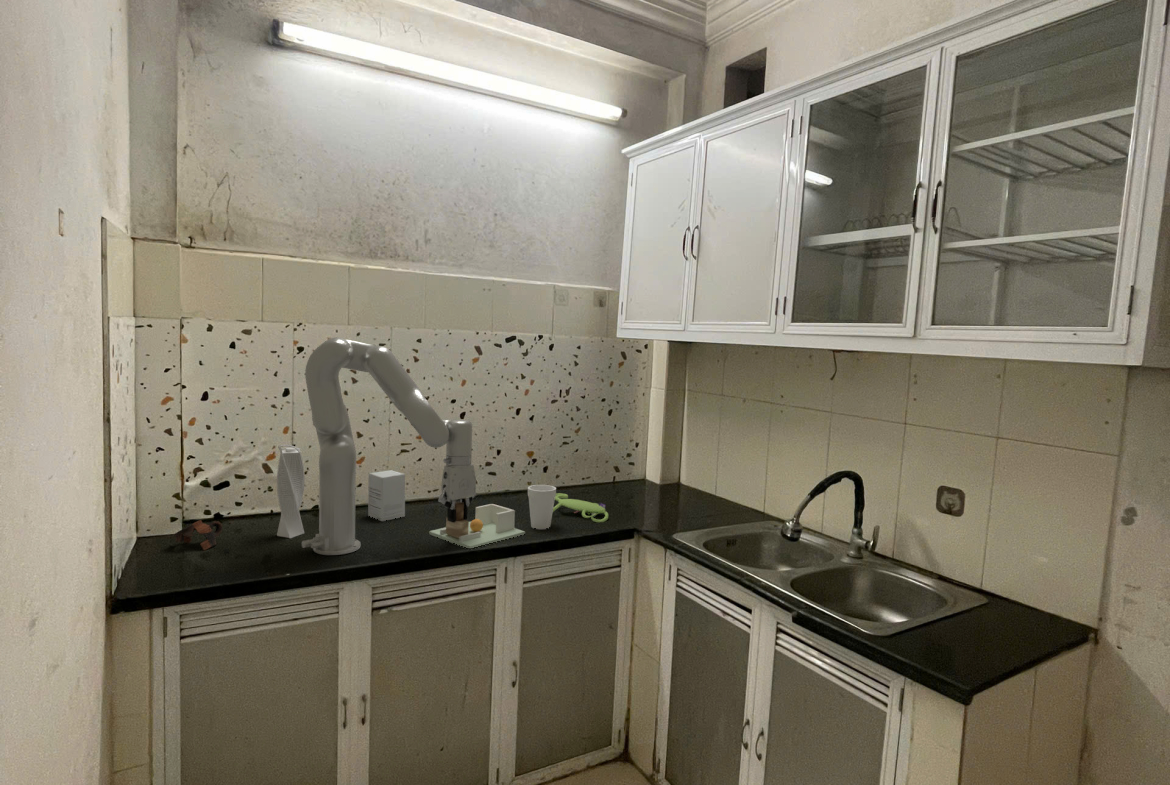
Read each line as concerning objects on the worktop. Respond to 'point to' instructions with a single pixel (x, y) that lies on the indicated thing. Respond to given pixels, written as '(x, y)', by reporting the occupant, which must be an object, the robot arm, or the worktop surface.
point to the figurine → (581, 507)
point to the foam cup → (541, 505)
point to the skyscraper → (290, 491)
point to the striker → (457, 522)
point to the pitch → (485, 527)
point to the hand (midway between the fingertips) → (457, 519)
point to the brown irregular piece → (201, 529)
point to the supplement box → (386, 495)
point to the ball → (476, 525)
